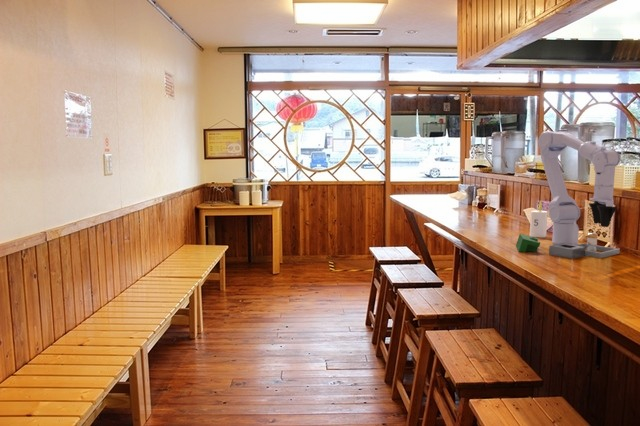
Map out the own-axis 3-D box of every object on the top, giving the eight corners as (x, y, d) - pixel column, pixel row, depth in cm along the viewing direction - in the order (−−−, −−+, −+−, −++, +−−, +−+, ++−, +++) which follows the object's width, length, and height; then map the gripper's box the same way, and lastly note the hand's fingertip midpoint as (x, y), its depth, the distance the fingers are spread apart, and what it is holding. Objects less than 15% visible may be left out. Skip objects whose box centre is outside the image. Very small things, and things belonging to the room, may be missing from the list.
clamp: (531, 266, 173) (540, 246, 168) (514, 261, 174) (522, 241, 169) (532, 248, 182) (541, 228, 177) (515, 243, 184) (523, 223, 179)
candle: (527, 236, 208) (529, 200, 206) (532, 234, 212) (534, 199, 210) (543, 238, 203) (545, 201, 201) (548, 235, 208) (550, 200, 206)
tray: (582, 249, 180) (582, 243, 179) (619, 256, 169) (619, 249, 169) (563, 254, 172) (563, 247, 172) (600, 260, 162) (601, 253, 162)
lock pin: (585, 252, 173) (587, 232, 172) (595, 253, 171) (597, 233, 171) (586, 253, 170) (587, 233, 169) (596, 254, 169) (597, 234, 168)
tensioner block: (561, 254, 172) (562, 243, 172) (584, 258, 166) (585, 246, 165) (548, 257, 168) (549, 245, 167) (571, 261, 161) (572, 249, 161)
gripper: (585, 184, 177) (582, 221, 179) (597, 187, 163) (595, 227, 165) (606, 184, 175) (603, 222, 177) (621, 187, 161) (618, 228, 163)
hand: (601, 224), depth 171 cm, fingers open, 7 cm apart
